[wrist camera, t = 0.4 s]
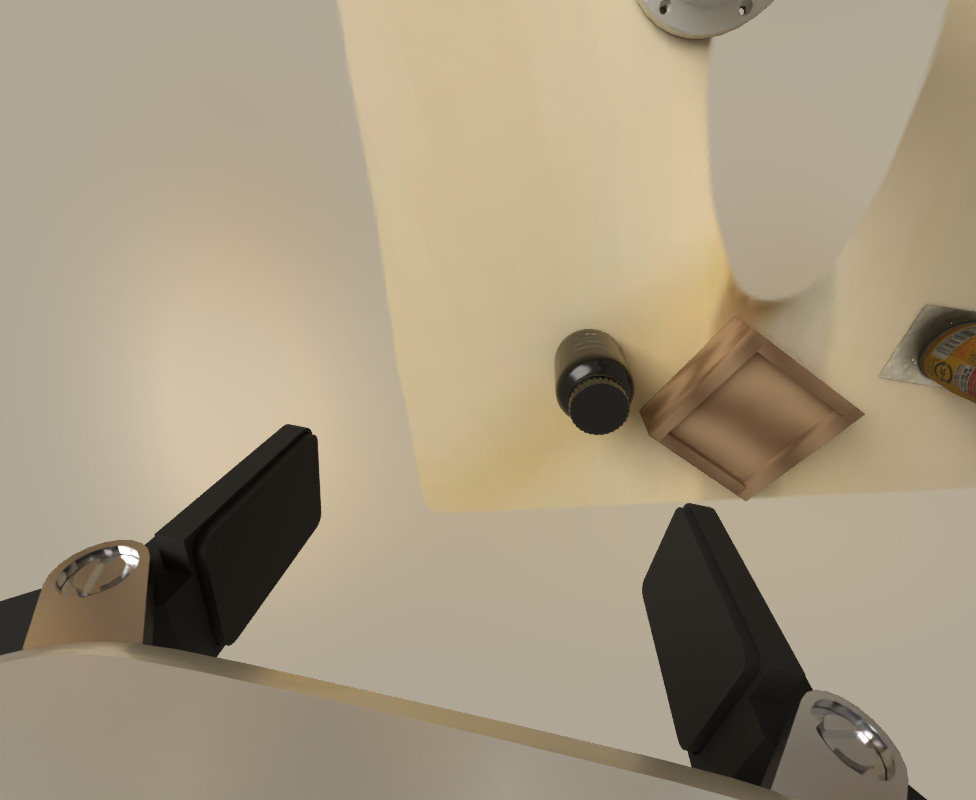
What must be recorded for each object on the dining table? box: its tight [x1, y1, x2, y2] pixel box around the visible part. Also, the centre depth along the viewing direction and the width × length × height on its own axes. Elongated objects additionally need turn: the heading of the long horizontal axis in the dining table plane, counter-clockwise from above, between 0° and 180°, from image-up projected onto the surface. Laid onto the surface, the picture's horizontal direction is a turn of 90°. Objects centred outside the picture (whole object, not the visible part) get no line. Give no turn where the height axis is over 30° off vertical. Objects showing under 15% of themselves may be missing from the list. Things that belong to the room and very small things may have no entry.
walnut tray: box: [640, 317, 865, 501], centre depth 41 cm, size 13×13×5 cm
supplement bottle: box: [555, 329, 634, 435], centre depth 38 cm, size 7×7×12 cm
